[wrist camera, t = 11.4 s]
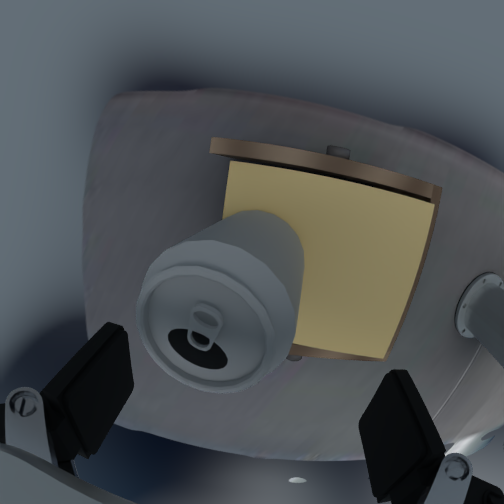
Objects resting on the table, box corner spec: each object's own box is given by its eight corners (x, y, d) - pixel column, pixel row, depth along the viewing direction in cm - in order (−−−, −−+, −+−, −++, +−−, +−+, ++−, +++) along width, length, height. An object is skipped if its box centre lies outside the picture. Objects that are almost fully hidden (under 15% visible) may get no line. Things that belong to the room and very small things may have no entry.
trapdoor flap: (429, 203, 19) (434, 204, 18) (381, 352, 23) (383, 358, 22) (233, 161, 21) (230, 160, 20) (214, 318, 25) (210, 323, 24)
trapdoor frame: (383, 171, 32) (443, 178, 19) (351, 304, 38) (383, 367, 24) (235, 142, 32) (213, 126, 19) (217, 285, 38) (191, 345, 24)
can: (199, 276, 23) (114, 357, 12) (229, 193, 21) (137, 218, 10) (281, 314, 23) (249, 426, 12) (321, 233, 20) (329, 306, 9)
